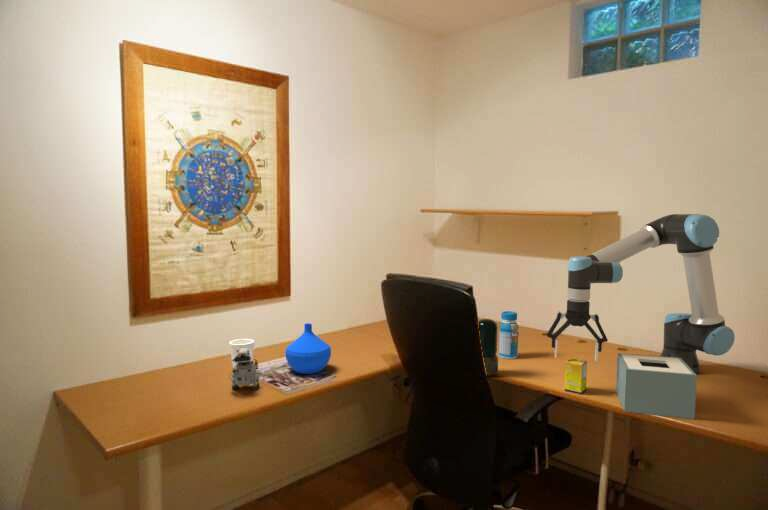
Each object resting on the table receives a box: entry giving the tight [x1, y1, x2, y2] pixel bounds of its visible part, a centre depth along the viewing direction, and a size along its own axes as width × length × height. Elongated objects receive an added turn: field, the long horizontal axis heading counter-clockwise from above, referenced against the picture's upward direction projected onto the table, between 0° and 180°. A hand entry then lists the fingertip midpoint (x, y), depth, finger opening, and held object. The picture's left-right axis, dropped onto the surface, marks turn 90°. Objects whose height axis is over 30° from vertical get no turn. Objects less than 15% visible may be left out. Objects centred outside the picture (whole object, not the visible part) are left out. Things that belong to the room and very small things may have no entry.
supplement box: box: [564, 357, 588, 395], centre depth 184 cm, size 6×6×11 cm
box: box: [615, 352, 698, 420], centre depth 171 cm, size 20×20×14 cm
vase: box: [284, 322, 332, 375], centre depth 206 cm, size 18×18×19 cm
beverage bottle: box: [498, 310, 520, 360], centre depth 226 cm, size 8×8×20 cm
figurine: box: [229, 348, 261, 391], centre depth 183 cm, size 9×12×15 cm
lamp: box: [477, 318, 499, 377], centre depth 203 cm, size 10×10×22 cm
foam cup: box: [228, 338, 255, 368], centre depth 202 cm, size 10×9×13 cm
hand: (575, 358), depth 183 cm, fingers open, 13 cm apart
